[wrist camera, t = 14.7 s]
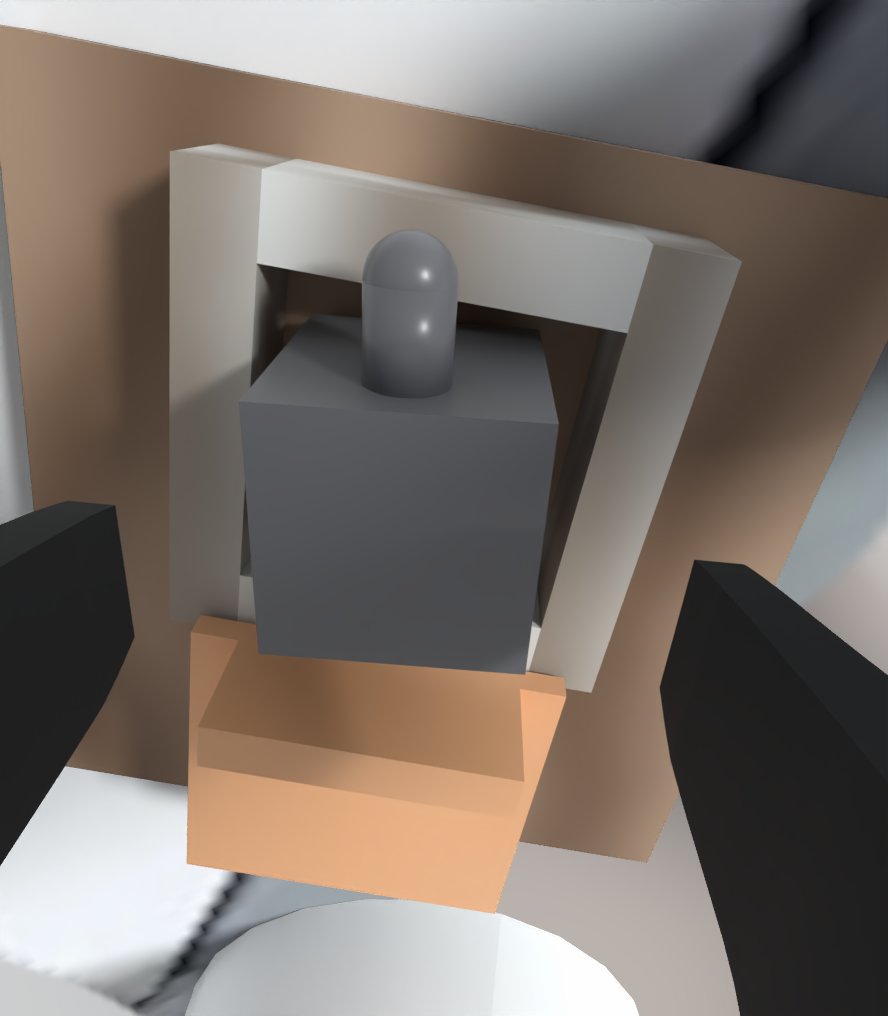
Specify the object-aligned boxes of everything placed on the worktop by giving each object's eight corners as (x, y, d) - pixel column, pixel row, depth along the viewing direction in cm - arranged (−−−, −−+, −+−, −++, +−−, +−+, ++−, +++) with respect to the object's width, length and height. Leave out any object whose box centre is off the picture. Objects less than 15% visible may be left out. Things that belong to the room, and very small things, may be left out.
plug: (550, 202, 15) (582, 257, 10) (515, 510, 18) (525, 674, 13) (318, 187, 15) (226, 233, 10) (324, 496, 18) (258, 653, 13)
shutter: (563, 678, 17) (578, 790, 14) (494, 892, 20) (495, 1016, 18) (200, 614, 16) (142, 717, 14) (195, 843, 20) (147, 961, 17)
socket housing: (908, 202, 16) (1028, 231, 12) (638, 821, 25) (663, 941, 21) (31, 29, 15) (-109, 7, 12) (82, 728, 24) (11, 836, 21)
